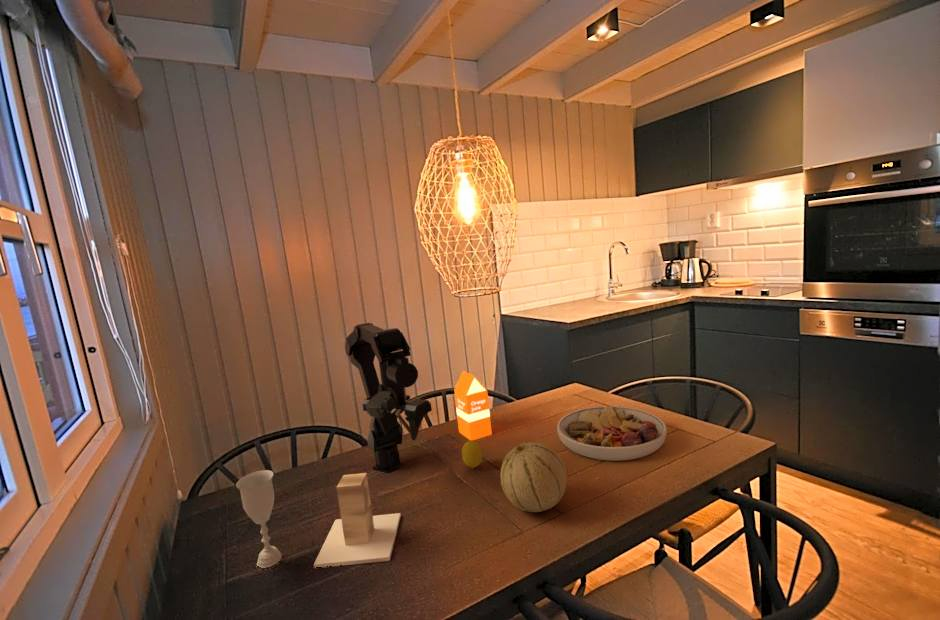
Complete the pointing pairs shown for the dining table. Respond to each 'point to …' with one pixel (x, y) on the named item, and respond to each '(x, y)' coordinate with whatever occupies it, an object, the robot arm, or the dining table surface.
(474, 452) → the lemon
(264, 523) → the chalice
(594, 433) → the bowl
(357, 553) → the tile
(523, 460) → the cantaloupe
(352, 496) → the wood block
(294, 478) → the dining table surface
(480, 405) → the orange juice
